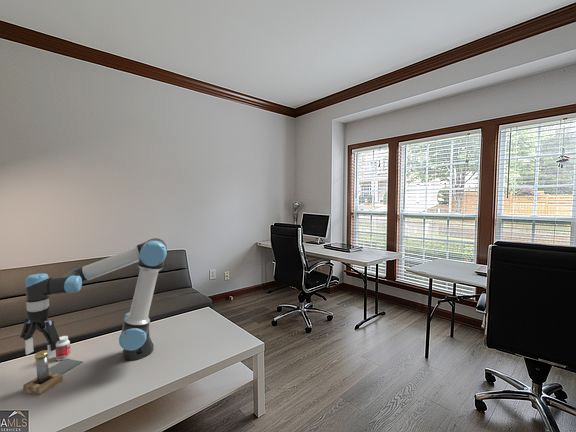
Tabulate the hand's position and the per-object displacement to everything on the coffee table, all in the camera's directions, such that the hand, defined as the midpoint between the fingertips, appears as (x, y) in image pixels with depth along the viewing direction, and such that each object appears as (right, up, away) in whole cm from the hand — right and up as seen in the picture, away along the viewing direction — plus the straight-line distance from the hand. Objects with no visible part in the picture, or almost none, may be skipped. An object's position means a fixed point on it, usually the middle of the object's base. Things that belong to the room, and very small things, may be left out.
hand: (40, 355), depth 124 cm
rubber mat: (-2, -14, +15) cm, 21 cm away
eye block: (0, -15, +1) cm, 15 cm away
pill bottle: (-9, -14, +24) cm, 29 cm away
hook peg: (0, -15, +1) cm, 15 cm away
